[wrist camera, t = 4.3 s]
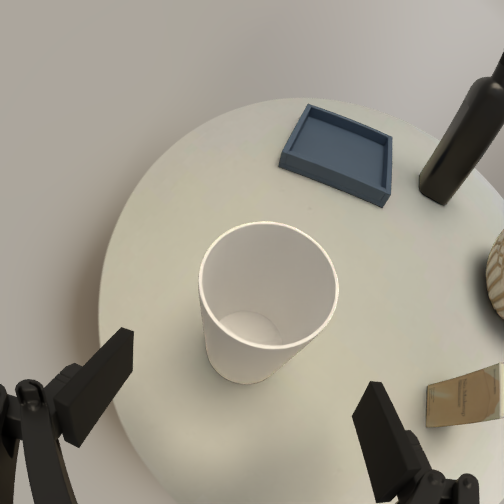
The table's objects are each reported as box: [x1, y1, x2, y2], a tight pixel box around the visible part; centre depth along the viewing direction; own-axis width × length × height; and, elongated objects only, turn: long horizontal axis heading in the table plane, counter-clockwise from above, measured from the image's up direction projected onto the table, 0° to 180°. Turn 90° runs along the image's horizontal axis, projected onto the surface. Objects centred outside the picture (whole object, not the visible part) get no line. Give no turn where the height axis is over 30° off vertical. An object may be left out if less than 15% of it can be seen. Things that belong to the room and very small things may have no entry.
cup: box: [198, 221, 339, 384], centre depth 21 cm, size 7×7×14 cm
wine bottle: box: [419, 52, 504, 205], centre depth 30 cm, size 6×6×30 cm
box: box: [426, 362, 504, 428], centre depth 20 cm, size 5×4×11 cm
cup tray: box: [278, 104, 392, 208], centre depth 42 cm, size 16×16×3 cm
